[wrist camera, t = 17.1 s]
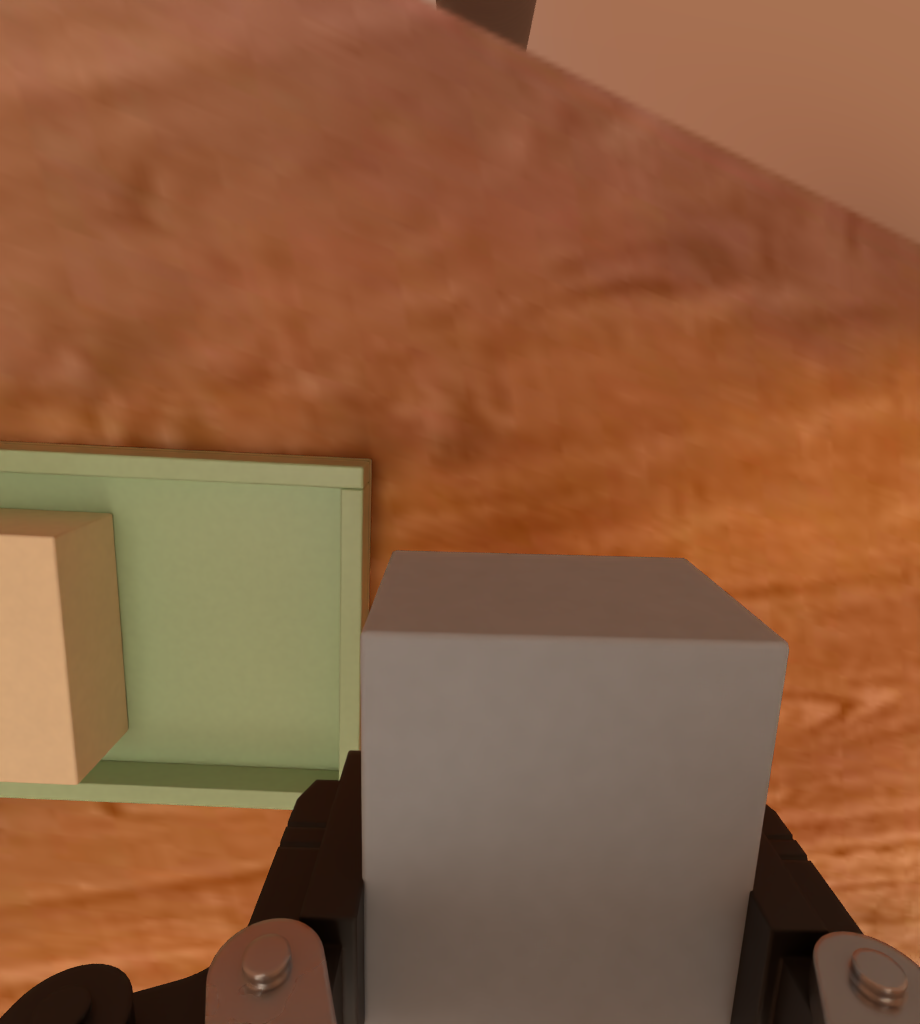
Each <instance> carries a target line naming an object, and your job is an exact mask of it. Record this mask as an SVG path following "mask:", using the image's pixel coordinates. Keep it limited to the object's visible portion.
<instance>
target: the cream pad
mask: <svg viewBox="0 0 920 1024" xmlns="http://www.w3.org/2000/svg"><path fill="white" fill-rule="evenodd" d="M127 731H128V717H127V704H126V691H125V677H124V664H123V651H122V637H121V624H120V611H119V597H118V584H117V571H116V557H115V544H114V531H113V517H112V514H110V513H94V512H73V511H52V510H31V509H9V508H0V782H16V783H39V784H62V785H77V784H79V783H80V782H81V780H82V779H83V778H84V777H85V776H86V775H87V774H88V773H89V772H90V771H91V770H92V769H93V768H94V767H95V765H96V764H97V763H98V762H99V761H100V760H101V759H102V758H103V757H104V756H105V755H106V754H107V753H108V751H109V750H110V749H111V748H112V747H113V746H114V745H115V744H116V743H117V742H118V741H119V740H120V739H121V738H122V736H123V735H124V734H125V733H126V732H127Z"/></svg>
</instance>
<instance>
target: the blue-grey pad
mask: <svg viewBox="0 0 920 1024" xmlns="http://www.w3.org/2000/svg"><path fill="white" fill-rule="evenodd" d="M788 653H789V646H788V643H787V642H786V641H785V640H784V639H782V638H781V637H780V636H779V635H778V634H776V633H775V632H774V631H773V630H772V629H770V628H769V627H768V626H767V625H765V624H764V623H763V622H762V621H761V620H759V619H758V618H757V617H756V616H755V615H753V614H752V613H751V612H750V611H748V610H747V609H746V608H745V607H744V606H742V605H741V604H740V603H739V602H738V601H736V600H735V599H734V598H733V597H731V596H730V595H729V594H728V593H727V592H725V591H724V590H723V589H722V588H721V587H719V586H718V585H717V584H716V583H714V582H713V581H712V580H711V579H710V578H708V577H707V576H706V575H705V574H703V573H702V572H701V571H700V570H699V569H697V568H696V567H695V566H694V565H693V564H691V563H690V562H689V561H688V560H686V559H684V558H661V557H623V556H585V555H547V554H509V553H471V552H433V551H394V552H393V553H392V555H391V558H390V560H389V563H388V566H387V568H386V571H385V573H384V576H383V578H382V581H381V584H380V586H379V589H378V591H377V594H376V596H375V599H374V602H373V604H372V607H371V609H370V612H369V615H368V617H367V620H366V622H365V625H364V627H363V630H362V633H361V635H360V682H361V800H362V878H363V881H364V982H365V1022H364V1024H730V1022H731V1015H732V1008H733V1002H734V995H735V988H736V982H737V975H738V968H739V962H740V955H741V948H742V941H743V935H744V928H745V921H746V915H747V908H748V901H749V895H750V891H752V890H753V886H754V879H755V872H756V866H757V859H758V852H759V846H760V839H761V833H762V826H763V819H764V813H765V806H766V799H767V793H768V786H769V779H770V773H771V766H772V759H773V753H774V746H775V740H776V733H777V726H778V720H779V713H780V706H781V700H782V693H783V686H784V680H785V673H786V667H787V660H788Z"/></svg>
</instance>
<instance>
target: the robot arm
mask: <svg viewBox="0 0 920 1024" xmlns="http://www.w3.org/2000/svg"><path fill="white" fill-rule="evenodd" d="M364 1022H365V982H364V881H363V878H362V800H361V751H360V750H349V752H348V754H347V757H346V761H345V764H344V767H343V771H342V774H341V777H340V780H317V779H316V780H315V781H314V782H313V783H312V784H311V785H310V786H309V787H308V788H307V789H306V790H305V791H304V792H303V793H302V794H301V795H300V796H299V797H298V798H297V800H296V803H295V805H294V808H293V811H292V813H291V816H290V818H289V821H288V826H287V827H286V829H285V831H284V834H283V836H282V839H281V842H280V847H278V849H277V852H276V855H275V857H274V860H273V862H272V865H271V868H270V870H269V873H268V875H267V878H266V881H265V883H264V886H263V888H262V891H261V894H260V896H259V899H258V901H257V904H256V906H255V909H254V912H253V914H252V917H251V919H250V922H249V924H248V927H246V928H244V929H243V930H241V931H239V932H238V933H236V934H235V935H234V936H233V937H231V938H230V939H229V940H228V941H227V942H226V943H225V944H224V945H223V946H222V947H221V948H220V950H219V951H218V952H217V954H216V955H215V957H214V959H213V961H212V963H211V965H210V967H208V968H207V969H205V970H203V971H201V972H199V973H197V974H195V975H192V976H190V977H187V978H184V979H181V980H178V981H174V982H170V983H167V984H163V985H160V986H156V987H152V988H149V989H145V990H142V991H138V992H134V993H133V991H132V985H131V983H130V980H129V978H128V977H127V976H126V974H125V973H124V972H122V971H121V970H120V969H118V968H116V967H113V966H111V965H105V964H88V965H81V966H77V967H74V968H70V969H67V970H65V971H62V972H60V973H57V974H55V975H53V976H51V977H50V978H48V979H46V980H44V981H43V982H41V983H39V984H38V985H36V986H35V987H33V988H32V989H31V990H30V991H28V992H27V993H26V994H24V995H23V996H22V997H21V998H20V999H19V1000H18V1001H17V1002H16V1003H15V1004H14V1005H13V1006H12V1007H11V1008H10V1009H9V1010H8V1011H7V1012H6V1013H5V1014H4V1015H3V1016H2V1017H1V1018H0V1024H364ZM730 1024H920V967H919V966H918V965H917V964H916V963H914V962H913V961H912V960H911V959H909V958H908V957H907V956H905V955H904V954H902V953H901V952H899V951H898V950H896V949H895V948H893V947H891V946H889V945H888V944H886V943H884V942H881V941H879V940H877V939H875V938H872V937H869V936H866V935H864V934H863V933H862V932H861V930H860V929H859V927H858V926H857V925H856V923H855V922H854V920H853V919H852V918H851V916H850V915H849V913H848V912H847V911H846V909H845V908H844V907H843V905H842V904H841V902H840V901H839V900H838V898H837V897H836V895H835V894H834V893H833V891H832V890H831V888H830V887H829V886H828V884H827V883H826V881H825V880H824V879H823V877H822V876H821V874H820V873H819V872H818V870H817V869H816V868H815V866H814V865H813V863H812V862H811V861H808V860H807V855H806V854H805V852H804V851H803V849H802V848H801V847H800V845H799V844H798V842H797V841H796V840H793V838H792V834H791V833H790V831H789V830H788V829H787V827H786V826H785V824H784V823H783V822H782V820H781V819H780V817H779V816H778V815H777V813H776V812H775V811H774V810H773V809H771V808H770V807H769V806H768V805H766V806H765V813H764V819H763V826H762V833H761V839H760V846H759V852H758V859H757V866H756V872H755V879H754V886H753V890H752V891H750V895H749V901H748V908H747V915H746V921H745V928H744V935H743V941H742V948H741V955H740V962H739V968H738V975H737V982H736V988H735V995H734V1002H733V1008H732V1015H731V1022H730Z"/></svg>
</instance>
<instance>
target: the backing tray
mask: <svg viewBox="0 0 920 1024" xmlns="http://www.w3.org/2000/svg"><path fill="white" fill-rule="evenodd" d="M371 484H372V460H371V459H366V458H345V457H324V456H304V455H283V454H262V453H241V452H220V451H200V450H179V449H158V448H137V447H117V446H96V445H75V444H54V443H33V442H13V441H0V508H9V509H31V510H52V511H73V512H94V513H110V514H112V517H113V531H114V544H115V557H116V571H117V584H118V597H119V611H120V624H121V637H122V651H123V664H124V677H125V691H126V704H127V717H128V731H127V732H126V733H125V734H124V735H123V736H122V738H121V739H120V740H119V741H118V742H117V743H116V744H115V745H114V746H113V747H112V748H111V749H110V750H109V751H108V753H107V754H106V755H105V756H104V757H103V758H102V759H101V760H100V761H99V762H98V763H97V764H96V765H95V767H94V768H93V769H92V770H91V771H90V772H89V773H88V774H87V775H86V776H85V777H84V778H83V779H82V780H81V782H80V783H79V784H77V785H62V784H39V783H16V782H0V797H5V798H28V799H51V800H75V801H98V802H121V803H144V804H167V805H191V806H214V807H237V808H260V809H283V810H293V808H294V805H295V803H296V800H297V798H298V797H299V796H300V795H301V794H302V793H303V792H304V791H305V790H306V789H307V788H308V787H309V786H310V785H311V784H312V783H313V782H314V781H315V780H316V779H317V780H340V777H341V774H342V771H343V767H344V764H345V761H346V757H347V754H348V752H349V750H360V751H361V682H360V635H361V633H362V630H363V627H364V625H365V622H366V620H367V617H368V615H369V597H370V540H371Z"/></svg>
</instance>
